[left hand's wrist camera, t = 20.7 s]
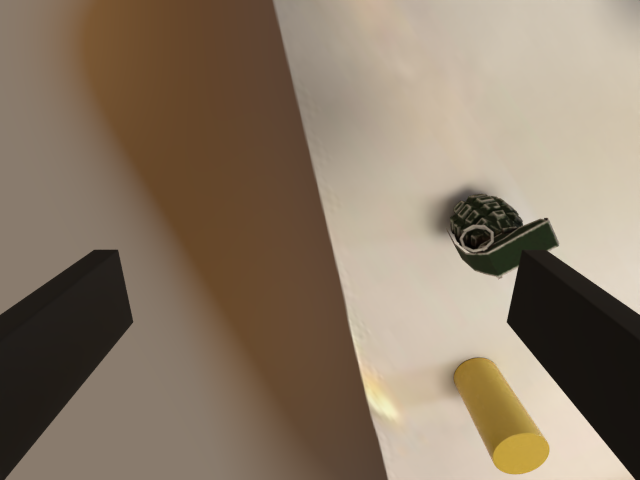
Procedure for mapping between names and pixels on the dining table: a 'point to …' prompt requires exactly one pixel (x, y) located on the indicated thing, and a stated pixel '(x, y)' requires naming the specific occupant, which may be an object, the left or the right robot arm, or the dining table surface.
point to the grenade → (496, 234)
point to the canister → (500, 418)
